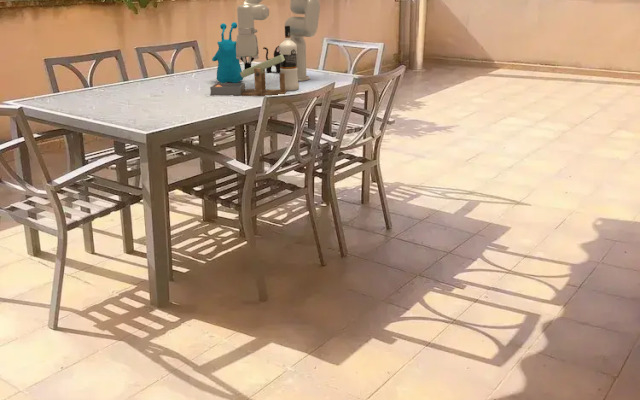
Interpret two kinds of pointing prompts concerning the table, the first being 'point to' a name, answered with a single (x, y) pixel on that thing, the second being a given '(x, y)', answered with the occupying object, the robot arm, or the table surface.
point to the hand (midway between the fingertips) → (248, 71)
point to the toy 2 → (276, 53)
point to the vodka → (289, 61)
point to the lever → (263, 65)
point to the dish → (228, 89)
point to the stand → (264, 85)
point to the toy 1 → (227, 59)
